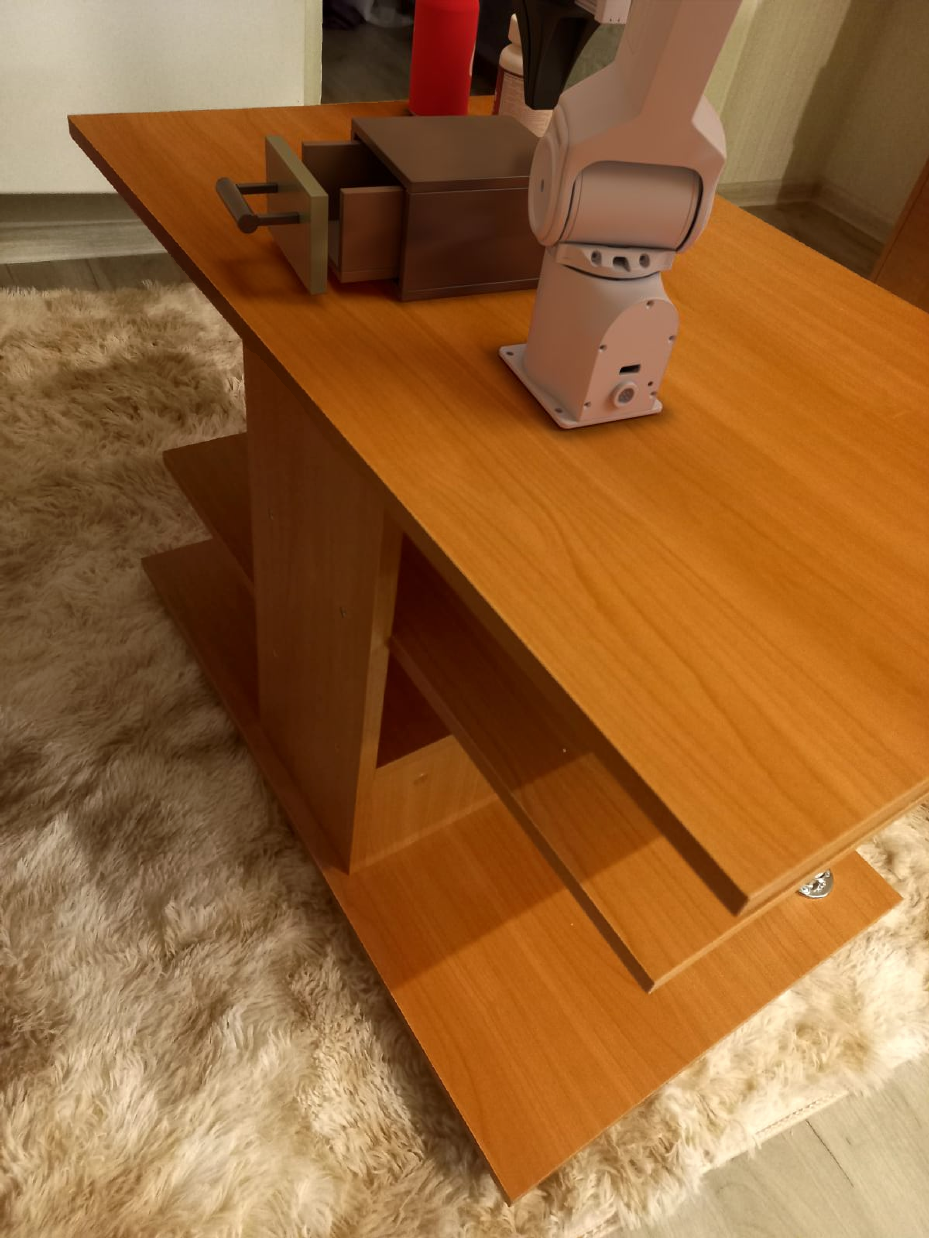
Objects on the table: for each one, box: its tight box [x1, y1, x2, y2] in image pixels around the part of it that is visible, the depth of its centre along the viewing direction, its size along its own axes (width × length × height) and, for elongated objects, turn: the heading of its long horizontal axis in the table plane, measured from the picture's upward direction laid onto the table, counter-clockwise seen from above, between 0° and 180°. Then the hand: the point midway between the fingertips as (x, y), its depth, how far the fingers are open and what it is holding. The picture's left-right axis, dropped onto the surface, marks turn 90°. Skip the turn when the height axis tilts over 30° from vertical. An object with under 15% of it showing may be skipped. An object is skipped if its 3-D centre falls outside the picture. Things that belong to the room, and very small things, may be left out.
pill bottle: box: [491, 13, 554, 139], centre depth 85 cm, size 6×6×11 cm
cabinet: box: [349, 114, 546, 303], centre depth 67 cm, size 14×12×9 cm
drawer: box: [214, 134, 406, 296], centre depth 64 cm, size 17×10×7 cm, turn 115°
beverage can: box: [407, 0, 480, 117], centre depth 88 cm, size 6×6×12 cm
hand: (539, 107), depth 66 cm, fingers closed
